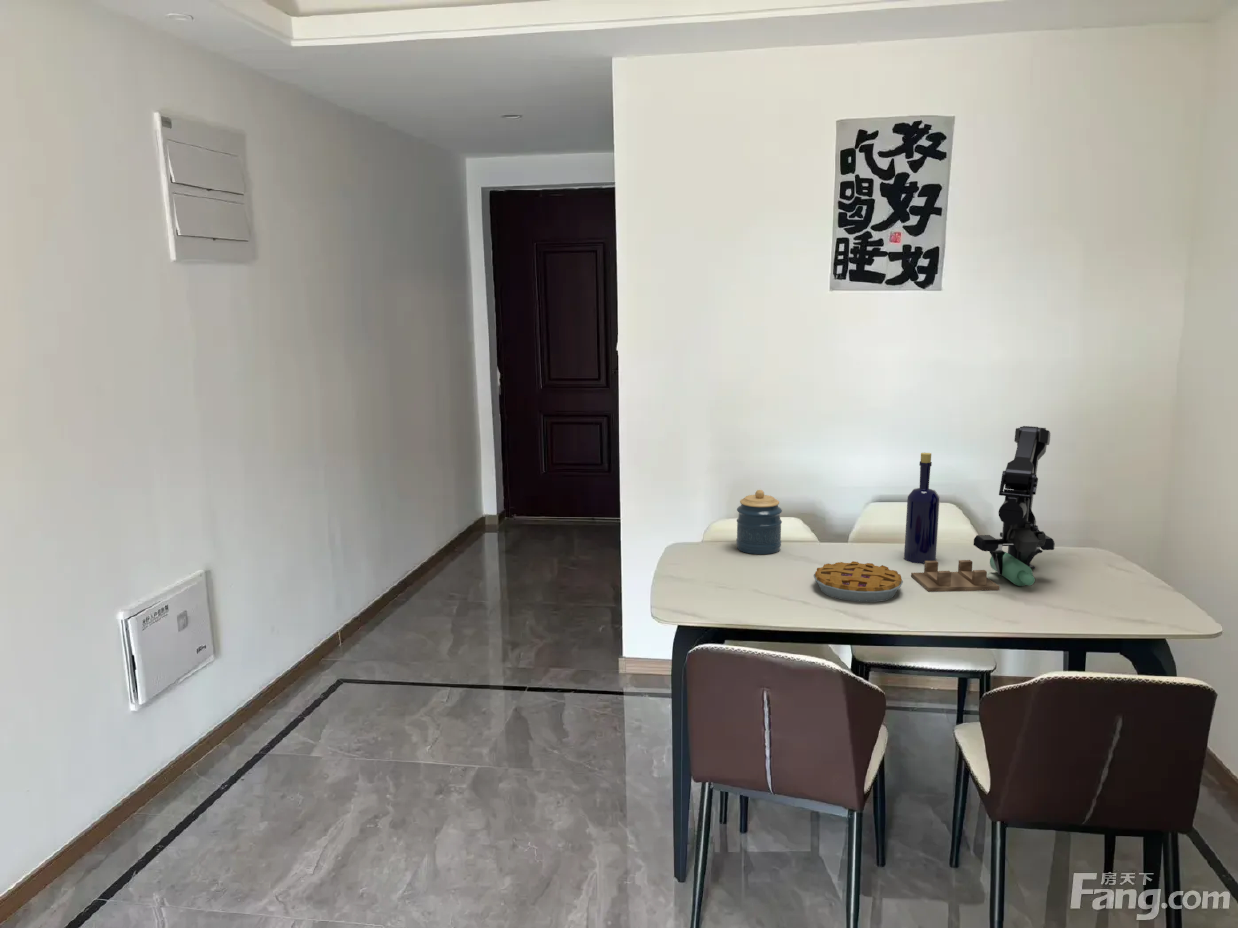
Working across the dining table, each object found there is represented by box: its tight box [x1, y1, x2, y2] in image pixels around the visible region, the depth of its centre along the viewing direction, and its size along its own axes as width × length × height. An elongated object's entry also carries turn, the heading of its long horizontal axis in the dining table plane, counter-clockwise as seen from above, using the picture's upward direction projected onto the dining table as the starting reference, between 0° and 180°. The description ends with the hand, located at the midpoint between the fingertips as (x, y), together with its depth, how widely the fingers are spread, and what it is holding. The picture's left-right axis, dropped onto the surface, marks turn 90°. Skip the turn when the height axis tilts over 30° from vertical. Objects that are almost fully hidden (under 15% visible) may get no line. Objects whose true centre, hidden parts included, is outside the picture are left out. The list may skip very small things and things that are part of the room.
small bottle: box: [989, 551, 1036, 587], centre depth 227 cm, size 16×6×6 cm, turn 2°
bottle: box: [903, 452, 941, 565], centre depth 245 cm, size 9×9×30 cm
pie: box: [813, 560, 904, 603], centre depth 223 cm, size 22×22×5 cm
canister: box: [735, 489, 783, 555], centre depth 258 cm, size 13×13×18 cm
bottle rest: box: [910, 559, 1001, 593], centre depth 227 cm, size 18×12×4 cm, turn 92°
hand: (1011, 574), depth 229 cm, fingers closed on small bottle, 6 cm apart
